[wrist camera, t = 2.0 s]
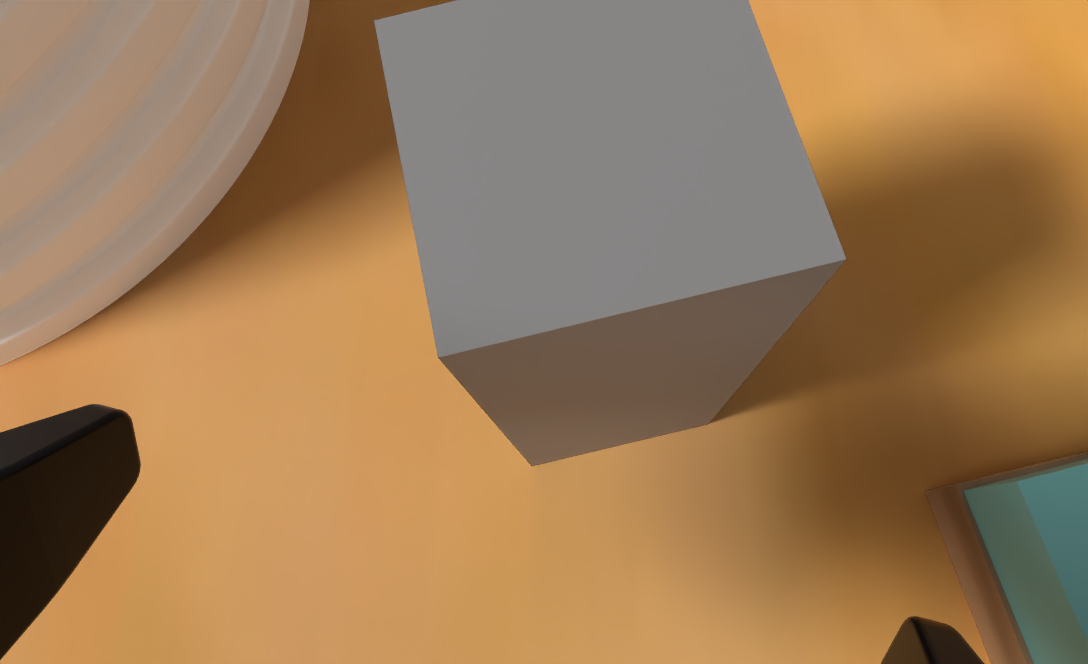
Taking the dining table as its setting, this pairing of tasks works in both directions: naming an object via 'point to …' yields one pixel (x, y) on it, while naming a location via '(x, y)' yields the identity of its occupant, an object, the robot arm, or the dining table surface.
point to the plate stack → (122, 140)
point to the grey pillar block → (602, 209)
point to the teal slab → (1041, 555)
